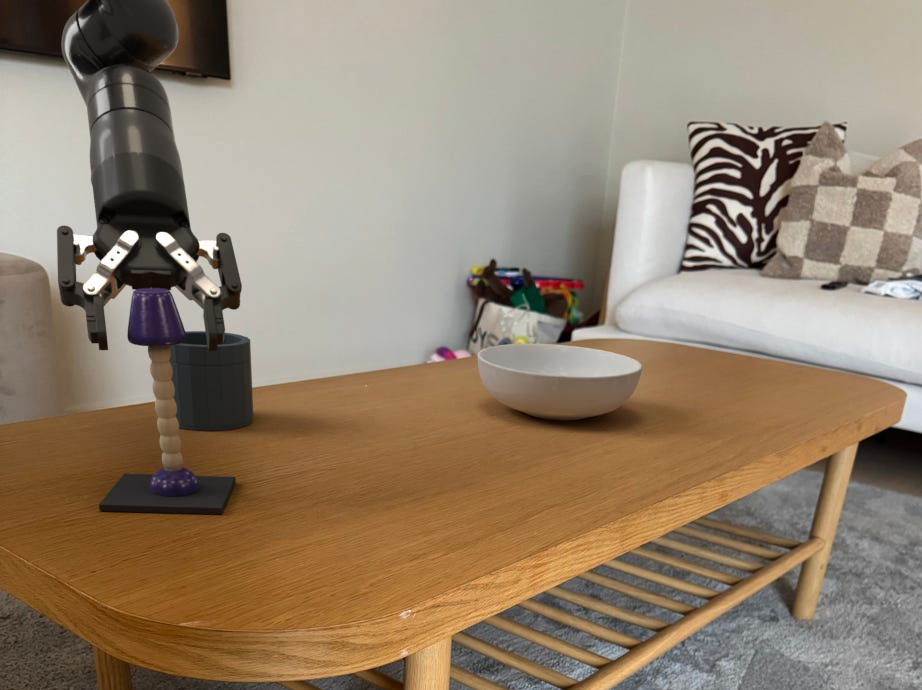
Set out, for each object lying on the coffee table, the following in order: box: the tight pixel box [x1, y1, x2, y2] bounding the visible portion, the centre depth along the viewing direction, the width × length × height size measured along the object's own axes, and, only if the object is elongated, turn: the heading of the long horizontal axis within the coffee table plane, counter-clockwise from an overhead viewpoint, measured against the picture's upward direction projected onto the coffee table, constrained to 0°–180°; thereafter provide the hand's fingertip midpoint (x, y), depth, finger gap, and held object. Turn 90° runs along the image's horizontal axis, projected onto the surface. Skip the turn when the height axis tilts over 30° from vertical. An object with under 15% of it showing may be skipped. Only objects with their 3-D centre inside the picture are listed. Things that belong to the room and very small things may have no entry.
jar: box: [169, 330, 254, 432], centre depth 107 cm, size 10×10×9 cm
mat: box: [98, 472, 237, 515], centre depth 84 cm, size 10×9×1 cm
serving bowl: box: [477, 343, 643, 421], centre depth 122 cm, size 21×21×7 cm
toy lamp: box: [126, 288, 200, 496], centre depth 81 cm, size 5×5×17 cm
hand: (159, 345), depth 78 cm, fingers open, 8 cm apart
